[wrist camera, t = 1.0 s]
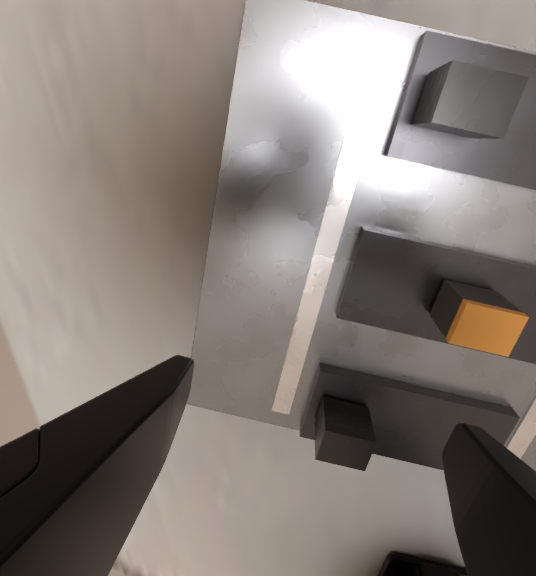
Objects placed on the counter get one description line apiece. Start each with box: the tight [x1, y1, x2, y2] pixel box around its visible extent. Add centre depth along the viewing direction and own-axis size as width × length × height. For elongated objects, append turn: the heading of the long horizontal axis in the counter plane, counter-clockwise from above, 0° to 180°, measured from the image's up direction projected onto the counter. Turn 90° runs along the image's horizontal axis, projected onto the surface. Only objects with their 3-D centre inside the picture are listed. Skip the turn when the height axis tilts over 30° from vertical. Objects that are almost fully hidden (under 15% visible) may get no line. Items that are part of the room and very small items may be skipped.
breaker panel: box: [186, 0, 536, 471], centre depth 17 cm, size 20×24×5 cm
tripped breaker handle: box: [430, 279, 529, 357], centre depth 16 cm, size 2×2×3 cm
